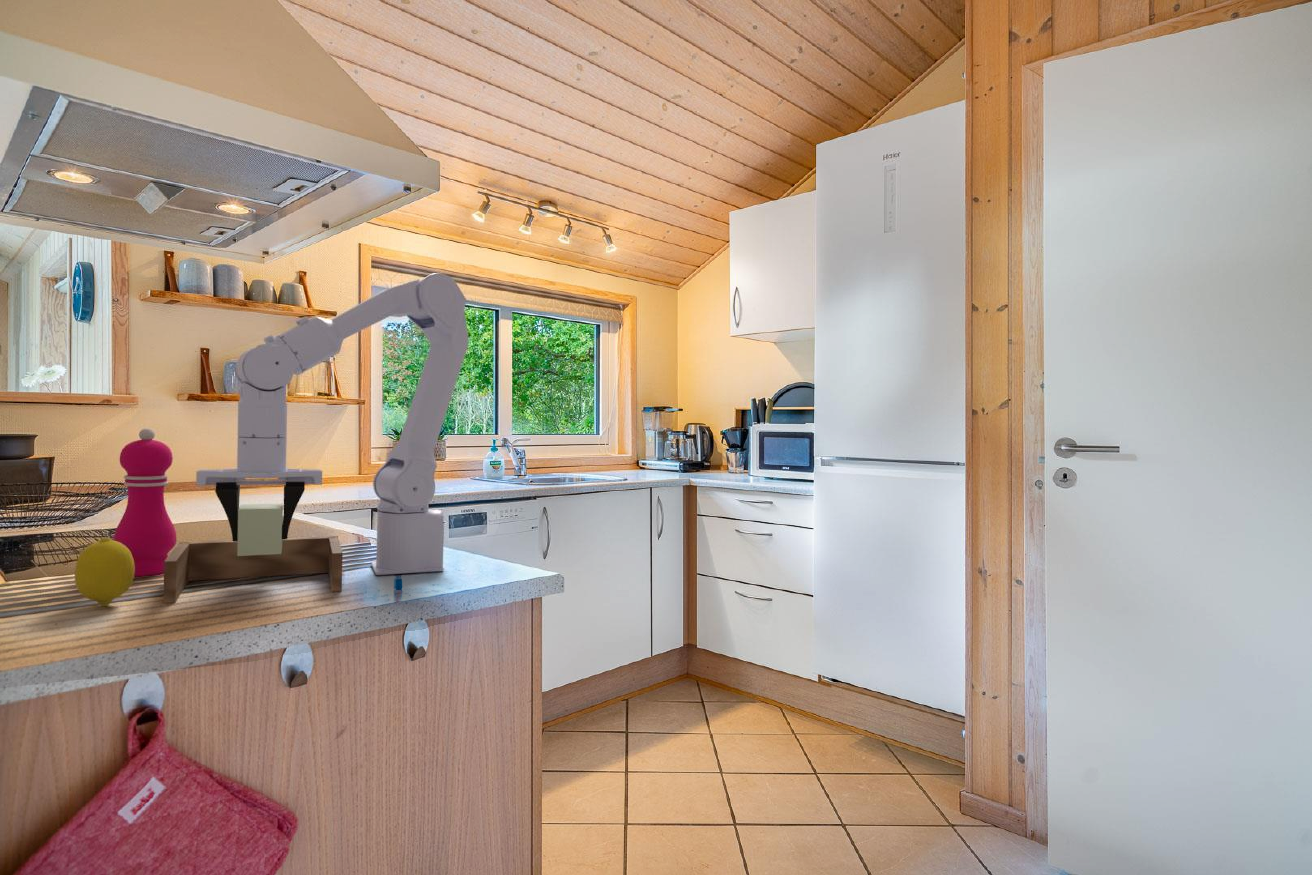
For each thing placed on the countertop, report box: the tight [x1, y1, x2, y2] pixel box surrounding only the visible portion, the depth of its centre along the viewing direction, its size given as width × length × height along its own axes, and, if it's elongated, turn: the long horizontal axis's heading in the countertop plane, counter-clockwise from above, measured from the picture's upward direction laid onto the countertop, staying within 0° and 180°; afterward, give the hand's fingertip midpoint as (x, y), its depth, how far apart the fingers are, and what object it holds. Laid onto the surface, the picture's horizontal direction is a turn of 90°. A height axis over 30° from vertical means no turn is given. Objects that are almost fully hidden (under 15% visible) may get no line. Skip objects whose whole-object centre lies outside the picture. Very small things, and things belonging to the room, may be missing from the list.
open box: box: [163, 535, 344, 604], centre depth 95 cm, size 19×13×5 cm, turn 117°
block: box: [237, 503, 284, 556], centre depth 95 cm, size 5×5×6 cm
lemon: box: [74, 536, 135, 607], centre depth 83 cm, size 6×6×8 cm
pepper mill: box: [112, 427, 178, 578], centre depth 99 cm, size 7×7×20 cm
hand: (260, 539), depth 95 cm, fingers closed on block, 5 cm apart
